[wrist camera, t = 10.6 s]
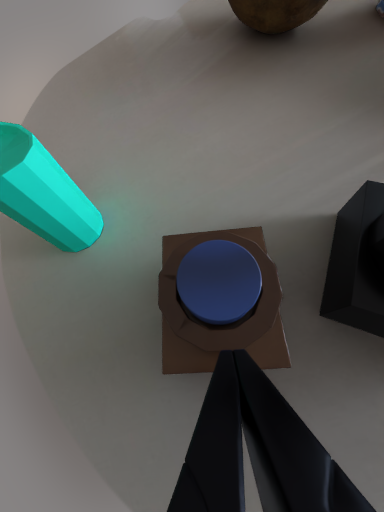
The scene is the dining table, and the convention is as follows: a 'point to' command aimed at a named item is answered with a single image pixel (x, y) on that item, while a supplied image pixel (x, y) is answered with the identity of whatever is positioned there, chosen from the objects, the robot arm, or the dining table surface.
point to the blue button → (219, 281)
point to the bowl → (275, 13)
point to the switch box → (358, 263)
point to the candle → (43, 193)
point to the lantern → (380, 8)
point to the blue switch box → (220, 336)
